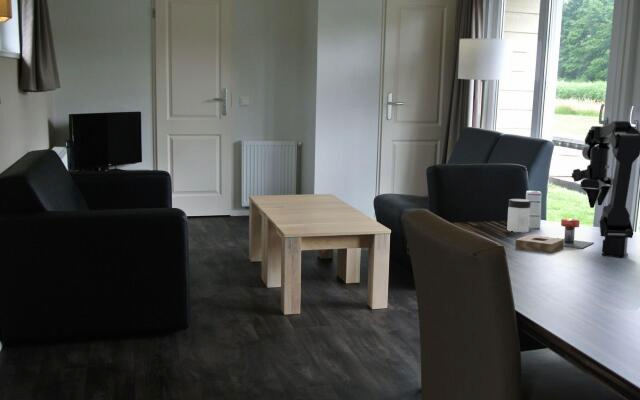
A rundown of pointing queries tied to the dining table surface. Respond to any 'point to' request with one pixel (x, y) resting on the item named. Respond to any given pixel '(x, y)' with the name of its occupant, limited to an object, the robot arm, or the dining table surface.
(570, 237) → the no entry disc
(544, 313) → the dining table surface
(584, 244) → the mat
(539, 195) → the syrup box
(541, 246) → the eye block
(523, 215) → the jar
